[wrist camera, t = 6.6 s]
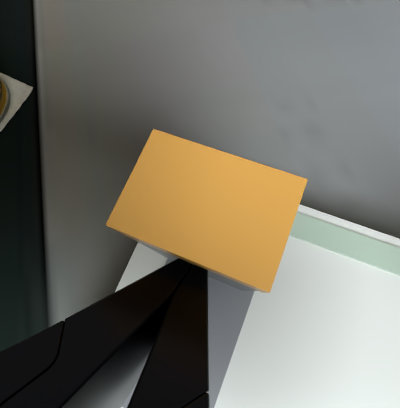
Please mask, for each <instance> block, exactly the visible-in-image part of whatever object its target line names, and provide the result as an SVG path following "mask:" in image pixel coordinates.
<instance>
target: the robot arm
mask: <svg viewBox="0 0 400 408" xmlns="http://www.w3.org/2000/svg"><path fill="white" fill-rule="evenodd" d="M138 379H139V380H138ZM137 381H138V382H137ZM136 383H137V385H136V387H135V389H134V392H133V394H132V397H131V399H130V402H129V404H128V407H127V408H210V396H209V393H208V392H209V316H208V270H206V269H204V268H201V267H199V266H197V265H193V264H192V263H189V262H187V261H185V260H182V259H180V258H177V259H176V260H174V261H172V262H170V263H168V264H166V265H164V266H163V267H161V268H159V269H157V270H155V271H153V272H151V273H150V274H148V275H146V276H144V277H142V278H140V279H139V280H137V281H135V282H133V283H131V284H129V285H127V286H126V287H124V288H122V289H120V290H118V291H116V292H114V293H113V294H111V295H109V296H107V297H105V298H103V299H102V300H100V301H98V302H96V303H94V304H92V305H90V306H89V307H87V308H85V309H83V310H81V311H79V312H77V313H76V314H74V315H72V316H70V317H68V318H66V319H65V323H64V321H60V322H59V323H57V324H55V325H53V326H51V327H49V328H48V329H46V330H44V331H42V332H40V333H38V334H36V335H34V336H32V337H30V338H28V339H26V340H24V341H22V342H20V343H18V344H16V345H14V346H12V347H9V348H7V349H5V350H3V351H1V352H0V408H121V407H122V405H123V404H124V402H125V400H126V399H127V397H128V396H129V394H130V392H131V391H132V389H133V387H134V386H135V384H136Z"/></svg>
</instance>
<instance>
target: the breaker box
mask: <svg viewBox="0 0 400 408" xmlns="http://www.w3.org/2000/svg"><path fill="white" fill-rule="evenodd" d="M170 262H172V260H170V259H168V258H166V257H164V256H163V255H161V254H159V253H157V252H155V251H154V250H152V249H150V248H148V247H146V246H145V245H143V244H141V243H139V242H138V243H137V246H136V248H135V250H134V252H133V254H132V256H131V258H130V261H129V263H128V265H127V267H126V269H125V271H124V274H123V276H122V278H121V280H120V282H119V284H118V287H117V289H116V291H118V290H120V289H122V288H124V287H126V286H127V285H129V284H131V283H133V282H135V281H137V280H139V279H140V278H142V277H144V276H146V275H148V274H150V273H151V272H153V271H155V270H157V269H159V268H161V267H163V266H164V265H166V264H168V263H170ZM116 291H115V292H116ZM208 316H209V392H208V393H209V396H210V408H400V239H399V238H396V237H393V236H390V235H387V234H384V233H381V232H378V231H375V230H373V229H370V228H367V227H364V226H361V225H358V224H355V223H352V222H349V221H346V220H344V219H341V218H338V217H335V216H332V215H329V214H326V213H323V212H320V211H317V210H315V209H312V208H309V207H306V206H303V205H300V204H299V207H298V210H297V213H296V216H295V219H294V222H293V225H292V228H291V231H290V234H289V237H288V240H287V243H286V246H285V249H284V252H283V255H282V258H281V261H280V264H279V267H278V270H277V273H276V276H275V279H274V282H273V285H272V288H271V291H270V293H262V292H260V291H242V290H240V289H238V288H235V287H233V286H231V285H228V284H226V283H223V282H221V281H219V280H216V279H214V278H211V277H209V276H208ZM138 380H139V379H138ZM137 382H138V381H137ZM136 385H137V383H136V384H135V386H134V387H133V389H132V391H131V392H130V394H129V396H128V397H127V399H126V400H125V402H124V404H123V405H122V407H121V408H127V407H128V404H129V402H130V399H131V397H132V394H133V392H134V389H135V387H136Z"/></svg>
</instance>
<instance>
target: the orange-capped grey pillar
mask: <svg viewBox="0 0 400 408" xmlns="http://www.w3.org/2000/svg"><path fill="white" fill-rule="evenodd" d="M307 180H308V179H305V178H302V177H299V176H296V175H293V174H290V173H287V172H284V171H281V170H278V169H275V168H272V167H269V166H266V165H263V164H259V163H256V162H253V161H250V160H247V159H244V158H241V157H238V156H235V155H232V154H229V153H226V152H223V151H220V150H217V149H214V148H211V147H207V146H204V145H201V144H198V143H195V142H192V141H189V140H186V139H183V138H180V137H177V136H174V135H171V134H168V133H165V132H162V131H159V130H155V129H153V131H152V133H151V135H150V137H149V139H148V141H147V143H146V145H145V147H144V149H143V151H142V153H141V155H140V157H139V159H138V161H137V163H136V165H135V167H134V169H133V171H132V173H131V175H130V177H129V179H128V181H127V183H126V185H125V187H124V189H123V191H122V193H121V195H120V197H119V199H118V201H117V203H116V205H115V207H114V209H113V211H112V213H111V215H110V217H109V219H108V221H107V223H106V226H108V227H110V228H112V229H113V230H115V231H117V232H119V233H121V234H123V235H124V236H127V237H129V238H132V239H134V240H136V241H137V242H139V243H141V244H143V245H145V246H146V247H148V248H150V249H152V250H154V251H155V252H157V253H159V254H161V255H163V256H164V257H166V258H168V259H170V260H172V261H174V260H176V259H177V258H180V259H182V260H185V261H187V262H189V263H192V264H193V265H197V266H199V267H201V268H204V269H206V270H208V276H209V277H211V278H214V279H216V280H219V281H221V282H223V283H226V284H228V285H231V286H233V287H235V288H238V289H240V290H242V291H260V292H262V293H270V291H271V288H272V285H273V282H274V279H275V276H276V273H277V270H278V267H279V264H280V261H281V258H282V255H283V252H284V249H285V246H286V243H287V240H288V237H289V234H290V231H291V228H292V225H293V222H294V219H295V216H296V213H297V210H298V207H299V204H300V201H301V198H302V195H303V192H304V189H305V186H306V183H307Z"/></svg>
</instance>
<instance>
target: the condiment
mask: <svg viewBox="0 0 400 408" xmlns="http://www.w3.org/2000/svg"><path fill="white" fill-rule="evenodd" d="M32 89H33V87H31V86H29V85H26V84H24V83H22V82H20V81H18V80H15V79H13V78H11V77H9V76H7V75H4V74H2V73H0V132H1V131H2V129H3V128H4V127H5V126H6V124H7V123H8V122H9V120H10V119H11V118H12V117H13V115H14V114H15V113H16V112H17V110H18V109H19V108H20V107H21V105H22V103H23V102H24V101H25V100H26V99H27V97H28V96H29V94H30V93H31V91H32Z"/></svg>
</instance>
